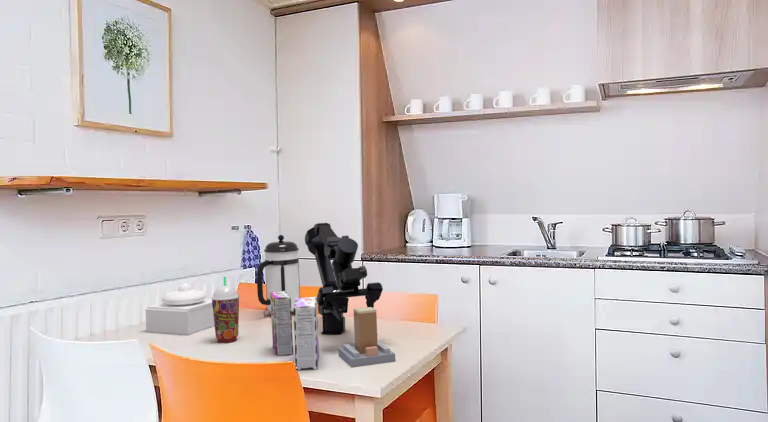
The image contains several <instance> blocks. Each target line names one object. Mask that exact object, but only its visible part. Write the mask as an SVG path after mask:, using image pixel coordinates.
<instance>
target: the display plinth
mask: <svg viewBox="0 0 768 422" xmlns="http://www.w3.org/2000/svg"><path fill="white" fill-rule="evenodd" d="M377 343H378V347H376V346H374V347H366V348H365V354H359V352H358V351H357V350H355V346H352V345H350V344H349V343H344V344H342V347H340V348H339V347H338V356H339V358H341V359H342V360H343V361H344V362H345V363H347V364H348V365H349V366H350V367H351V368H355V367H362V366H371V365H377V364H384V363H391V362H392V363H393V362H396V353H395V352H394V351H392V350H391V348H390V347H389V346H387V345H385V344H383V343H382V342H381V341H379V340H378V339H377Z"/></svg>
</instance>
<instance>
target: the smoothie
mask: <svg viewBox="0 0 768 422" xmlns="http://www.w3.org/2000/svg"><path fill="white" fill-rule="evenodd" d="M210 299H212V306H213V315H214V325H215V326H214V332H215V338H216V339H217V342H218V343H225V344H227V343H233V342H235V341H236V340H237V339H238V337H239V326H240V325H239V321H240V320H239V319H240V317H239V315H240V314H239V311H240V295H239V293H238V292H237V290H236V289H235V288H234V287H233V286H231V285H227V278H226V276H223V285H222V286H219V287H218V288H216V290H214V293H213V295H212V296H211V298H210Z"/></svg>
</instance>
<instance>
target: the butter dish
mask: <svg viewBox="0 0 768 422" xmlns="http://www.w3.org/2000/svg"><path fill="white" fill-rule="evenodd" d="M207 296H208V294H207V293H206V292H205V291H203V290H199V289H193V287H192V285H191V284H189V283H186V282H184V283H181V284H180V285H179V286H178V287H177V290H174V291H170V292H168V293H165V294H164V295H163V296H162V297H161V301H162V303H161V302H160V303H157V304H153V305H150V306H146V308H145V327H146V333H148V334H149V333H150V334H161V335H162V334H163V335H173V336H174V335H175V336H177V335H178V336H190V335H194V334H196V333H197V334H198V333H199V332H202V331H205V330H208V329H211V328H213V327H214V328H215V325H214V315H213V306H212V299H211V298H207Z"/></svg>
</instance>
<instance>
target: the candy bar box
mask: <svg viewBox="0 0 768 422" xmlns="http://www.w3.org/2000/svg"><path fill="white" fill-rule="evenodd" d="M270 301H271V312H270V315H271V316H270V318H271V334H272V335H271V337H272V347H273V350H274V352H275V354H276V357H283V356H284V355H285V356H292V355H294V341H293V339H294V337H293V336H294V335H293V322H292V319H293V318H292V312H291V297H290V296H289V295H288V293H287V292H286V291H279V292H271V293H270Z"/></svg>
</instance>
